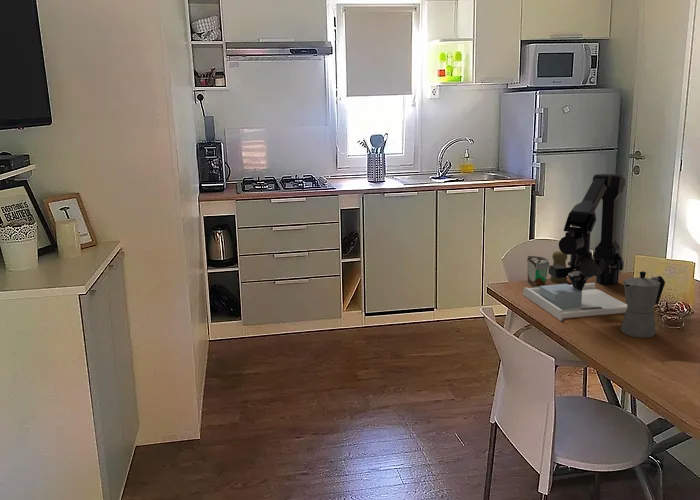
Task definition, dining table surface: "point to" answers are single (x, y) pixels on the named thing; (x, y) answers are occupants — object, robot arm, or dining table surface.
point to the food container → (537, 271)
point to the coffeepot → (641, 305)
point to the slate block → (562, 295)
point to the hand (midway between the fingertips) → (578, 294)
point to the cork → (559, 260)
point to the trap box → (591, 303)
